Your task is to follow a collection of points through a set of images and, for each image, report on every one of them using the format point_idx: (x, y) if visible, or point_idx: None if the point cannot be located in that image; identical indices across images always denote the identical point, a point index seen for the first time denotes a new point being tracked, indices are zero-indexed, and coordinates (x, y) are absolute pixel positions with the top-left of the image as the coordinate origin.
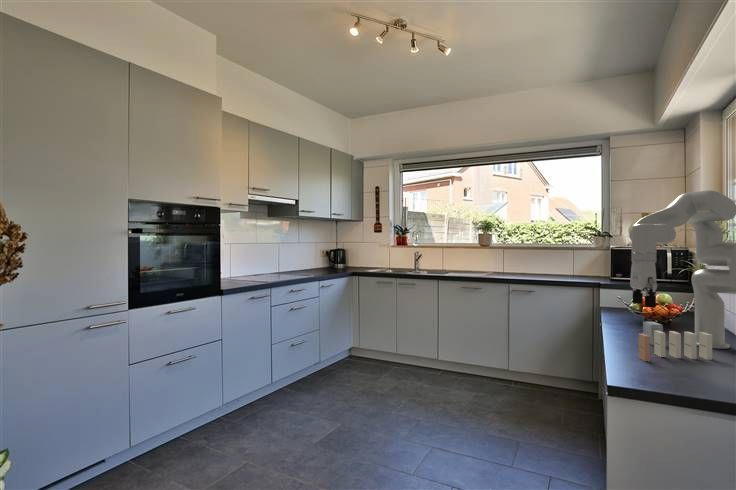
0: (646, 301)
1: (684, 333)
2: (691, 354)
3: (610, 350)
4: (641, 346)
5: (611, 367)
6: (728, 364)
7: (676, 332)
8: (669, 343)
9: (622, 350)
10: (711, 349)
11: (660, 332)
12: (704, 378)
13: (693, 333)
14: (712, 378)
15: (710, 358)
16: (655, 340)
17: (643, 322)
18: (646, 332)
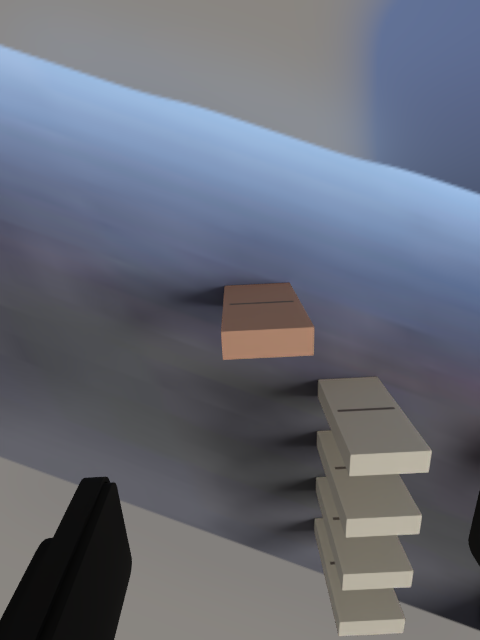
0: (55, 559)
1: (405, 561)
2: (320, 491)
3: (435, 190)
4: (263, 303)
5: (41, 63)
6: (259, 548)
7: (381, 532)
8: None
9: (439, 257)
10: (323, 566)
11: (370, 460)
12: (22, 406)
13: (365, 588)
14: (35, 431)
15: (315, 531)
16: (392, 416)
17: None
18: None
